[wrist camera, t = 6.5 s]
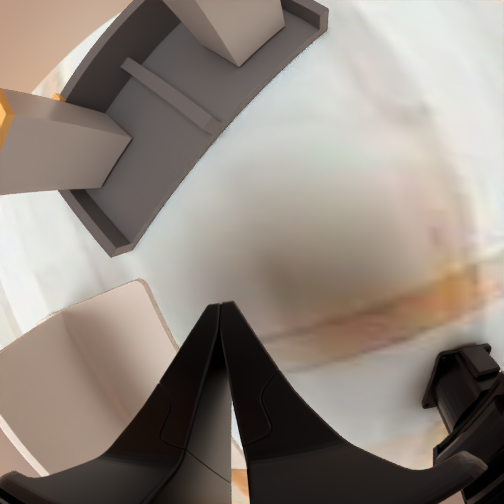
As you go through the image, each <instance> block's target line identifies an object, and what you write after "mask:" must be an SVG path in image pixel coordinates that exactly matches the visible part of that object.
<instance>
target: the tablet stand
mask: <svg viewBox="0 0 504 504" xmlns="http://www.w3.org/2000/svg"><path fill="white" fill-rule="evenodd" d="M178 351H179V348H178V346H177V344H176V342H175V340H174V338H173V336H172V334H171V332H170V330H169V328H168V326H167V324H166V322H165V320H164V318H163V316H162V314H161V312H160V310H159V308H158V306H157V304H156V301H155V299H154V297H153V295H152V293H151V290H150V288H149V286H148V284H147V283H146V281H144V280H143V279H137V280H134V281H132V282H129V283H127V284H124V285H122V286H119V287H117V288H114V289H112V290H109V291H107V292H105V293H102V294H100V295H97V296H95V297H92V298H90V299H87V300H85V301H83V302H80V303H78V304H75V305H73V306H71V307H68V308H66V309H63V310H61V311H59V312H57V313H54V314H52V315H50V316H48V317H46V318H44V319H42V320H40V321H39V322H38V323H37V326H36V327H35V328H33V329H32V330H30V331H29V332H27V333H26V334H24V335H23V336H21V337H20V338H18V339H17V340H15V341H14V342H12V343H11V344H9V345H8V346H6V347H5V348H3V349H2V350H1V351H0V427H1V429H2V430H3V432H4V433H5V434H6V436H7V437H8V438H9V439H10V441H11V442H12V443H13V445H14V446H15V447H16V448H17V450H18V451H19V452H20V453H21V454H22V455H23V457H24V458H25V459H26V460H27V461H28V462H29V463H30V464H31V466H32V467H33V468H34V469H35V470H36V471H37V472H38V473H39V474H40V475H41V476H42V477H44V476H48V475H51V474H54V473H57V472H60V471H63V470H66V469H69V468H72V467H74V466H77V465H80V464H82V463H85V462H88V461H90V460H93V459H95V458H97V457H98V456H100V455H101V454H103V453H104V452H105V451H106V450H107V449H108V448H109V447H110V446H111V445H112V444H113V443H114V441H115V440H116V439H117V438H118V437H119V435H120V434H121V433H122V432H123V430H124V429H125V428H126V427H127V426H128V424H129V423H130V422H131V421H132V419H133V418H134V417H135V416H136V414H137V413H138V412H139V410H140V409H141V408H142V406H143V405H144V404H145V402H146V401H147V399H148V398H149V396H150V395H151V393H152V392H153V390H154V389H155V387H156V385H157V384H158V383H159V381H160V379H161V378H162V376H163V374H164V373H165V371H166V370H167V368H168V367H169V365H170V363H171V362H172V360H173V359H174V357H175V356H176V354H177V352H178ZM246 468H247V467H246V462H245V456H244V453H243V451H242V450H241V449H240V447H239V446H238V444H237V443H236V441H235V440H234V439H233V437H232V436H231V469H246Z"/></svg>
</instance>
